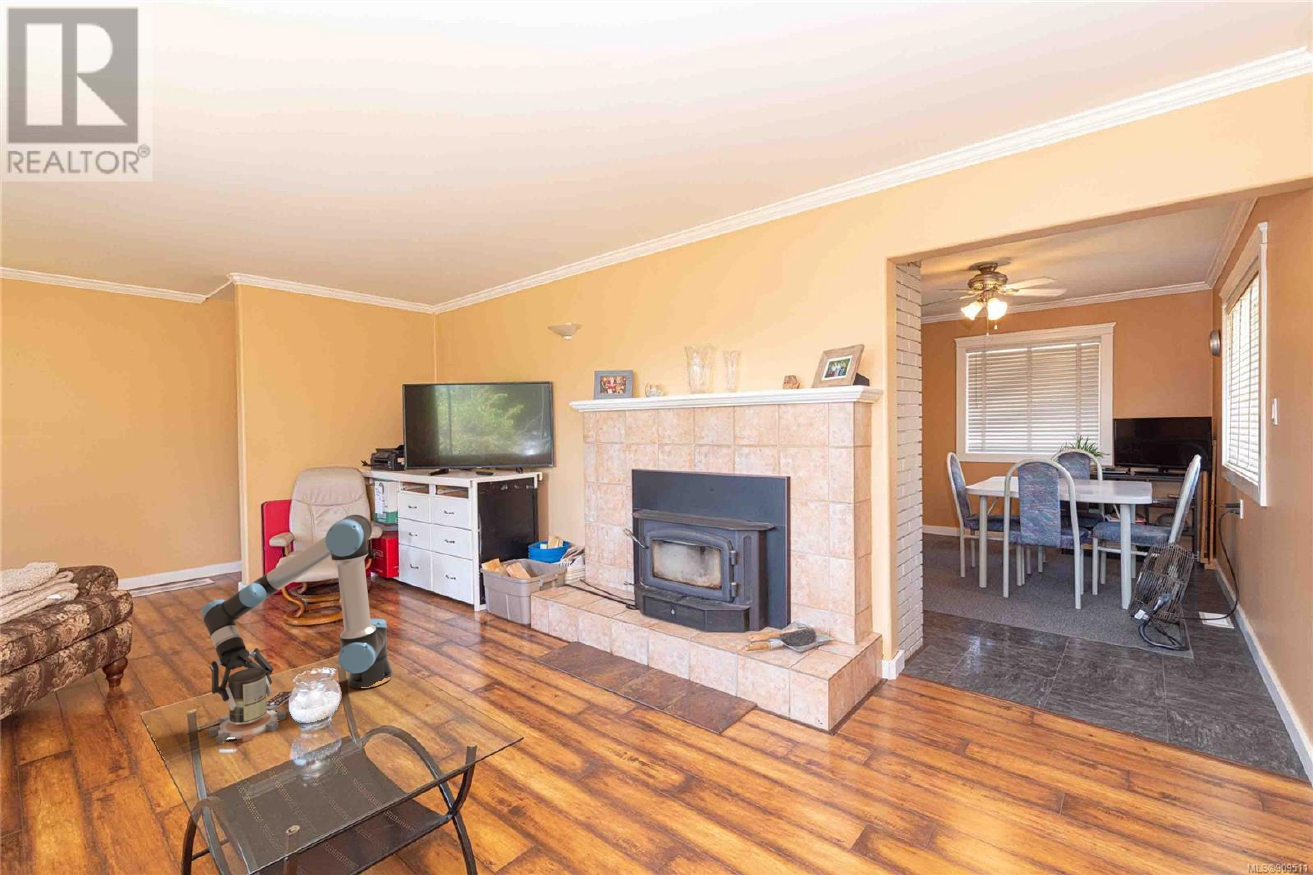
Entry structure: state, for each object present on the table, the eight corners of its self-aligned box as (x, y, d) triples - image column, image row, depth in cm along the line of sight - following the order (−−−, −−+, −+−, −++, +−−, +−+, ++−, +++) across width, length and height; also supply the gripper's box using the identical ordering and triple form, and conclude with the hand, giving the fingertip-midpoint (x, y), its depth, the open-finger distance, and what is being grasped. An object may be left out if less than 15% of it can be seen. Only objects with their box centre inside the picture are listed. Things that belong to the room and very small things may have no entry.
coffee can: (224, 727, 187) (223, 683, 186) (234, 712, 196) (233, 670, 196) (262, 721, 190) (261, 678, 190) (271, 706, 200) (270, 665, 199)
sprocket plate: (212, 721, 196) (212, 715, 196) (285, 704, 207) (284, 699, 207) (206, 751, 179) (206, 744, 179) (286, 731, 190) (286, 725, 190)
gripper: (261, 638, 210) (285, 693, 202) (184, 660, 191) (208, 722, 183) (268, 626, 207) (293, 681, 199) (191, 648, 188) (215, 710, 180)
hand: (252, 701), depth 191 cm, fingers closed on coffee can, 10 cm apart
